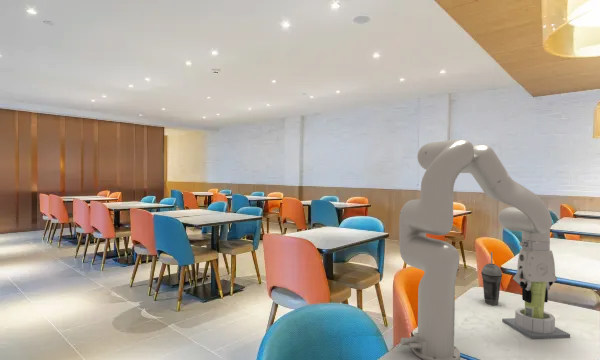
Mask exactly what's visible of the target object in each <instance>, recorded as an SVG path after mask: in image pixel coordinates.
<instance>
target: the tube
mask: <svg viewBox="0 0 600 360" xmlns="http://www.w3.org/2000/svg"><path fill="white" fill-rule="evenodd" d="M526 284H527V282H526ZM545 290H546V282H532V283H531V287H530V291H531V292H532V298H531V303H528V302H526V301H524V308H525V315H526V316H529V317H532V318H538V319H543V314H544V311H545V302H544V301H545Z"/></svg>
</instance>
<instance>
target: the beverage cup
mask: <svg viewBox="0 0 600 360" xmlns="http://www.w3.org/2000/svg"><path fill="white" fill-rule="evenodd" d="M481 279H482V286H483V287H482V288H483V298H484V299H483V300H484V304H486V305H489V306H498V305H499V299H500V290H501V282H502V279H503V272H502V270H501V268H500V266H498V265H497V264H495V263H493V251H490V263H487V264H484V266H483V267H482V269H481Z"/></svg>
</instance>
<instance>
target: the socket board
mask: <svg viewBox="0 0 600 360" xmlns="http://www.w3.org/2000/svg"><path fill="white" fill-rule="evenodd" d="M514 315H515V316H514V317H515V318H514V317H513V318H512V317H511V318H510V317H508V318H501V322H502V323H504V324H505V325H507V326H509V327H510V328H512V329H514V330H516V331H517V332H518V333H520V334H522V335H524V336H525V337H527V338H529V339H530V340H542V339H565V338H566V339H567V338H568V339H569V338H571V334H570V333H569V332H567V331H565V330H563V329H560V328H558V327H557V326H556V318H555V316H554V315H553V314H551V313H550V312H547V311H545V310H544V314H543V319H538V318H532V317H529V316H526V315H525V307H518V308H517V309H515V313H514Z"/></svg>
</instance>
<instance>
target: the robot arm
mask: <svg viewBox="0 0 600 360" xmlns="http://www.w3.org/2000/svg"><path fill="white" fill-rule="evenodd" d="M416 157H417V162H418V164H419V165H420V167H421V168H423V169H424V170H425V172H424V173H423V176H422V179H421V182H420V196H419V199H417V198H416V199H410V200H408V201H407V202H405V203H404V205H403V206H402V208H401V210H400V213H399V219H398V220H399V223H398V224H399V227H398V229H399V231H398V232H399V235H398V236H399V240H398V242H399V244H398V245H399V254H400V257H401V259H402V261H403V262H404V263H405V264H406V265H407V266H410V267H413V268H416V269H419V270H422V272H424V274H423V275H422V277H421V279H420V281H419V284H418V289H417V290H418V292H417V295H418V297H417V301H418V302H417V332H414V335H413V336H411V337H401V338H400V344H401V346H408V347H409V349H411V350H412V352H413V353H414V355H415V356H417V357H418V358H420V359H422V360H460V359H461V351H460V350H459V348H458V347H457V346H455V320H456V319H455V317H456V316H455V315H456V314H455V313H456V312H455V309H456V308H455V307H456V306H455V305H456V303H455V302H456V299H455V298H456V283H457V282H456V280H457V276H458V275H457V274H458V270H459V266H460V260H461V259H460V254H459V251H458V250H457V248H456V247H455V246H454V245H453V244H451V243H450V242H447V241H444V240H442V239H441V240H440V239H436V238H432V237H427V234H429V235H433V236H445V235H448V234H449V233H450V232H451V231H452V229H453V225H454V187H455V183H456V180H457V178H458V177H459V175H460V174H470V175H472V176H473V178H474V180H475V181H476V183H477V184H478V186H479V187H480V188H481V190H482V191H483V193H484V195H486V196H487V197H489V198H491V199H493V200H495V201H497V202H500V203H502V204H506V205H509V206H508V207H506V208H503V209H502V210H500V212H499V213H498V217H497V219H498V223H499V225H501V226H502V228H504V229H506V230H509V231H510V230H511V231H515V232H521V242H519V246H520V247H521V248H520V250H519V254H518V258H517V266H516V267H517V268H516V270H517V272H516V274H515V275H514V276H513V278H512V280H513V281H514V282H515V283H517V285H519V287H520V288H521V290H522V291H521V298H522V301H524V302H525V301H526V302H528V303H531V298H532V292H531V291H530V287H531V283H532V282H546V290H545V301H544V303H548V300H549V298H548V296H549V291H550V289H551V286H553V284H554V283H555V282H556V281H557V280H558V278H557V276H556V265H555V257H554V254H553V251H552V250H551V248H550V247H551V244H550V243H551V228H552V225H553V224H552V223H553V221H552V215H551V212H550V210H549V209H548V207H547V206H546V204H545V203H544V201H543V200H542V198H540V197H539V196H538V195H537V194H536V193H534V192H533V191H531V190H530V189H529V188H527V187H525V186H524V185H522V184H521V183H518V182H517V181H515V180H514V179H513V178H512V177H511V175H510V174H509V172H508V171H507V169H506V168H505V166H504V164H503V163H502V161H501V160H500V158H499V157H498V155H497V153H496V151H494V149H493V148H492V147H491V146H489V145H487V144H473V143H472V142H471V141H469V140H467V139H449V140H443V141H434V142H429V143H425V144H424V145H422V146H421V147H420V148H419V150H418V152H417V156H416ZM526 282H527V284H526Z"/></svg>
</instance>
